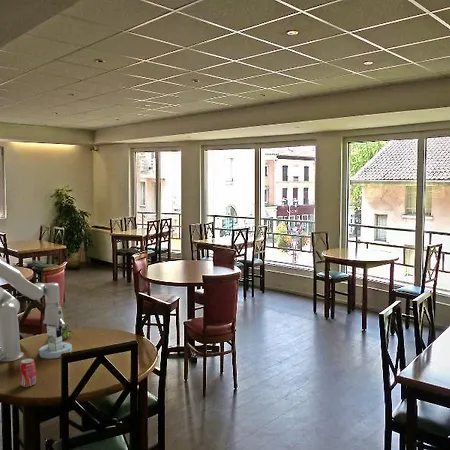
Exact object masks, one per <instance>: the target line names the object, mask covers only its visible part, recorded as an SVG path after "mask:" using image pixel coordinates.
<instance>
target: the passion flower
mask: <svg viewBox="0 0 450 450" xmlns="http://www.w3.org/2000/svg"><path fill="white" fill-rule="evenodd" d="M64 323H65V325H64V326H63V328H62V341H63V340H66V339H67V338H69V337H71V334H72V335H73V334H74V332H73V329H71V330H69V328H68V327H69V323H68V322H67V321H65V322H64Z"/></svg>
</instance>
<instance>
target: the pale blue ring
mask: <svg viewBox="0 0 450 450" xmlns="http://www.w3.org/2000/svg"><path fill="white" fill-rule="evenodd" d="M62 345H63V349H61V350H56V351H49V350H48V343H47V344H45V345H43V346H41V347H40V348H39V349H38V353H39V354H38V355H39V357H40V358H42V359H43V358H44V359H48V360H49V359H58V358H61V357H60V356H61V354H62V353H66V352H71V351H73V345H72V344H71V343H70V342H64V341H62ZM71 353H72V352H71Z"/></svg>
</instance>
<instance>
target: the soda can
mask: <svg viewBox="0 0 450 450" xmlns="http://www.w3.org/2000/svg"><path fill="white" fill-rule="evenodd" d="M36 367H37V366H36V362H35V360H34V358H31V357H30V358H23V359H22V360H20V363H19V379H20V385H21V386H22V387H24V388H29V386H30V387H33V386H34V385H35V384H36V383H37V368H36ZM32 385H33V386H32Z"/></svg>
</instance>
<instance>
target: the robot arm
mask: <svg viewBox="0 0 450 450" xmlns="http://www.w3.org/2000/svg"><path fill="white" fill-rule="evenodd" d="M0 280H3V281H5V282H6V283H7V284H9V285H10V286H12V287H13V288H14V289H15V290H16V291H17V292H19V293H20V294H22V295H23V296H25V297H27V298H29V299H31V300H34V301H37V300H40V299H41V298H43V296H44V299H45V308H44V319H43V321H42V323H43V325H44V326H45V328H46V330H47V327H48V326H50V325H54V326H56V328H57V331H56V333H57V338H58V337H61V336H62V332H63V331H62V332H61V329H62V328H63V326H64V325H65V322H64V321H65V320H64V314H63V313H64V312H63V309H62V306H61V305H62V304H61V300H60V299H61V298H60V285H59V283H58V282H48V283H46V282H45V283H44V282H36V283H32V282H31V281H29V280H28V279H26V278H25V276H24V274H23V273H22V272H21V271H20V270H19V269H17V268H15V267H14V266H12V265H11V264H9V263H8V262H6V259H5V258H4V257H2V256H0ZM20 306H21V304H20V302H19V300H18V299H17V298H15V297H14V296H13V295H12V294H11V293H10V292H8V291H7V290H5V289H4V288H2V286H0V349H1V351H0V362H4V363H5V362H7V363H8V362H15V361H17V360H20V359H22V358H23V357H24V354H25V353H24V352H23V351H21V341H20V340H21V339H20V327H19V318H18V317H19V316H18V313H19V310H20ZM58 326H59V327H58Z"/></svg>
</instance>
